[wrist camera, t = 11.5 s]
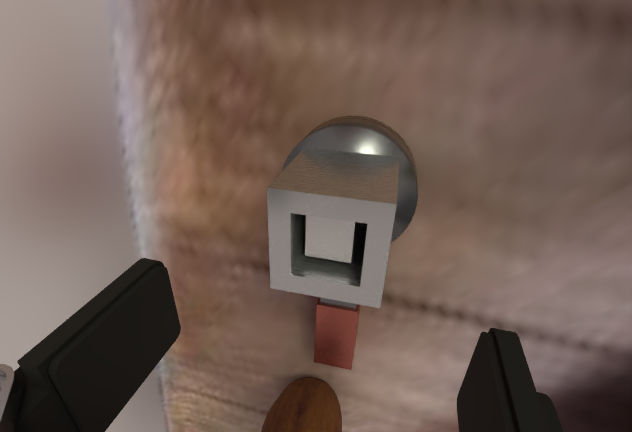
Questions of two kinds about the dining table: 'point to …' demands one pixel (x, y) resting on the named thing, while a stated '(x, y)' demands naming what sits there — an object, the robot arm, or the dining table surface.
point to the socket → (335, 203)
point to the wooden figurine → (305, 409)
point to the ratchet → (351, 225)
